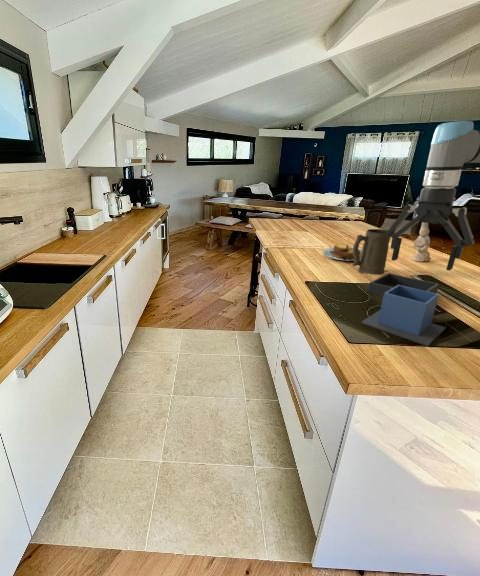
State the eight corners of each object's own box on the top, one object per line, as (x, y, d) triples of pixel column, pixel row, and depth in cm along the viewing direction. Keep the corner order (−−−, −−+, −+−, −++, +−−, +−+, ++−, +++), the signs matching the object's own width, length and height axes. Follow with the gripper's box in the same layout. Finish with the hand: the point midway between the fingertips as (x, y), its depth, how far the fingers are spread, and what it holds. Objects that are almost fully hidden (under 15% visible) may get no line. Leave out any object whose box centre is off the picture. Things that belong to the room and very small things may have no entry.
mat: (447, 326, 96) (448, 324, 96) (428, 346, 86) (428, 344, 85) (384, 308, 109) (385, 306, 109) (360, 323, 99) (361, 321, 99)
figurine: (414, 257, 170) (423, 220, 163) (432, 260, 163) (442, 222, 156) (407, 260, 165) (416, 221, 158) (425, 263, 159) (436, 223, 152)
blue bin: (430, 324, 96) (439, 294, 93) (418, 335, 90) (426, 303, 86) (391, 312, 104) (398, 284, 101) (377, 322, 98) (384, 292, 95)
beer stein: (374, 268, 153) (379, 227, 145) (391, 274, 143) (397, 231, 135) (345, 272, 151) (349, 231, 143) (360, 279, 141) (365, 235, 133)
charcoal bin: (435, 295, 119) (439, 283, 118) (419, 308, 109) (423, 295, 107) (386, 283, 132) (388, 272, 130) (367, 293, 122) (369, 282, 120)
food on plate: (383, 262, 161) (386, 250, 159) (337, 264, 159) (339, 252, 157) (354, 250, 185) (356, 239, 183) (314, 252, 183) (315, 241, 180)
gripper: (382, 187, 90) (369, 258, 97) (499, 189, 72) (472, 277, 79) (393, 185, 94) (379, 254, 102) (505, 187, 76) (479, 271, 83)
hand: (420, 264), depth 90 cm, fingers open, 13 cm apart
